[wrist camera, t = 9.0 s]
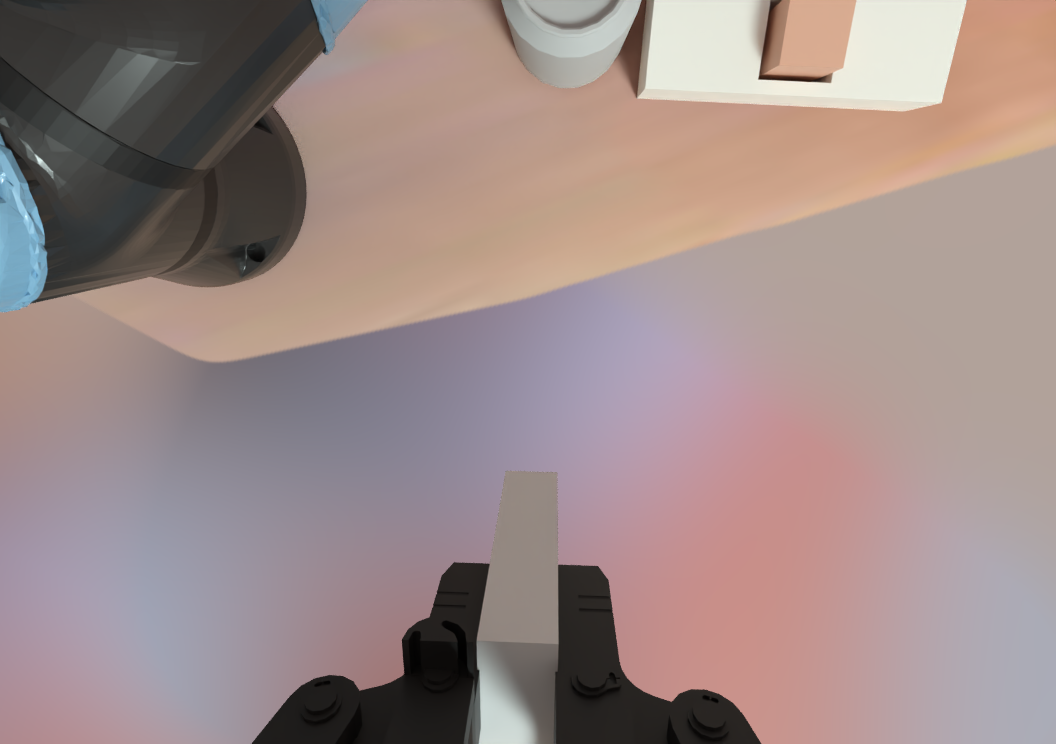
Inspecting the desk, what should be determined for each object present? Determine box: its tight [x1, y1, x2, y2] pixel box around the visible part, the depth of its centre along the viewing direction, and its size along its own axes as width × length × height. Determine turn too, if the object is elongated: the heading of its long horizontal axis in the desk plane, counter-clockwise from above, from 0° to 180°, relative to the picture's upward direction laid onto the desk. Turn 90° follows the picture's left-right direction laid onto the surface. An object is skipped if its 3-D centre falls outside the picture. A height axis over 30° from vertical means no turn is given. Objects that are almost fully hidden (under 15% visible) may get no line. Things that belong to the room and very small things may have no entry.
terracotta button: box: [758, 0, 856, 82], centre depth 35 cm, size 4×4×5 cm
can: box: [501, 0, 641, 88], centre depth 33 cm, size 8×8×12 cm
